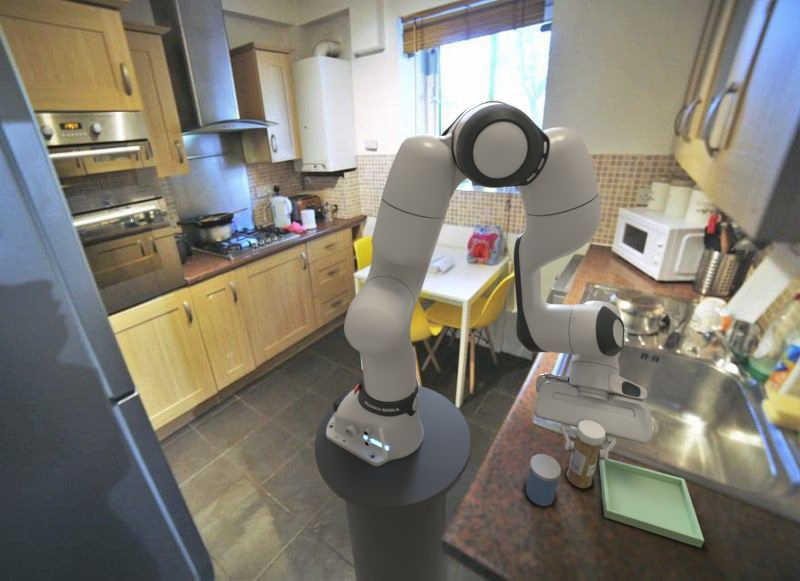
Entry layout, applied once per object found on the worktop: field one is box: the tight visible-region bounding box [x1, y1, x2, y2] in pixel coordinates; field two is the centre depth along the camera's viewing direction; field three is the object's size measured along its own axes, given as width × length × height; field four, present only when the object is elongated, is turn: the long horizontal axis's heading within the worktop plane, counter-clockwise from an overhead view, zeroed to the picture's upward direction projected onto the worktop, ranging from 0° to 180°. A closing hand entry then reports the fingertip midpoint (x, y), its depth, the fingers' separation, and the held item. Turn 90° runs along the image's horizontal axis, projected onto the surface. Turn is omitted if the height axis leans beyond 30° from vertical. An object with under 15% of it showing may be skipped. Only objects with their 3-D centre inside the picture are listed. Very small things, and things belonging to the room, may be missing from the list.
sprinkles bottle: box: [566, 420, 606, 489], centre depth 69 cm, size 5×5×13 cm
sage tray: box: [598, 458, 705, 549], centre depth 67 cm, size 14×12×2 cm
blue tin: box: [525, 453, 562, 507], centre depth 68 cm, size 5×5×8 cm
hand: (585, 455), depth 69 cm, fingers closed on sprinkles bottle, 4 cm apart
